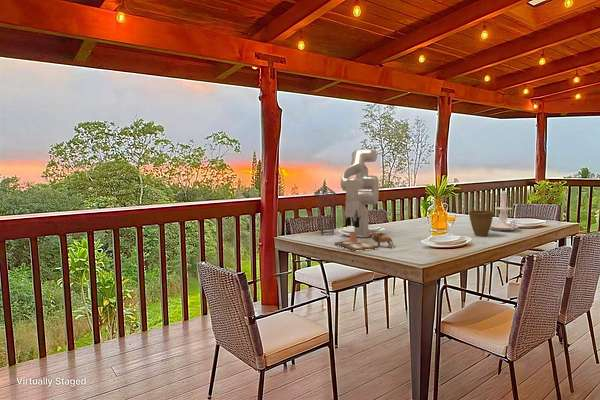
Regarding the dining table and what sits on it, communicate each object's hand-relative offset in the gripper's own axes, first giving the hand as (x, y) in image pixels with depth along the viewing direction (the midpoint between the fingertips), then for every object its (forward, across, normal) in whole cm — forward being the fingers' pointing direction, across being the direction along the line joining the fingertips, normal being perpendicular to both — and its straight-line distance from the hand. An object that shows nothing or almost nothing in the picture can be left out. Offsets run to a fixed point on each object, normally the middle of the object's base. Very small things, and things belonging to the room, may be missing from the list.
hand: (352, 226), depth 249 cm
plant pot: (+11, +14, +90) cm, 92 cm away
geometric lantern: (+11, -46, +5) cm, 48 cm away
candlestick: (+11, +10, +118) cm, 119 cm away
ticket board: (+12, +2, +1) cm, 13 cm away
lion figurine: (+13, +11, +14) cm, 22 cm away
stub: (+10, -1, +1) cm, 10 cm away
